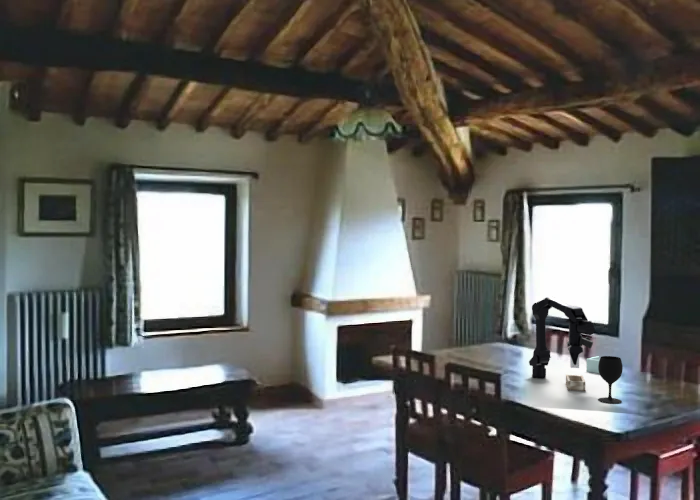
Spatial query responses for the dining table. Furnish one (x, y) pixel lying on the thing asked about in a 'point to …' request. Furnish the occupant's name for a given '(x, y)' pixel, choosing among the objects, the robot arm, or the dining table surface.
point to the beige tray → (575, 382)
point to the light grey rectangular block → (573, 364)
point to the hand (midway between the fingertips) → (574, 363)
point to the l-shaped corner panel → (593, 364)
